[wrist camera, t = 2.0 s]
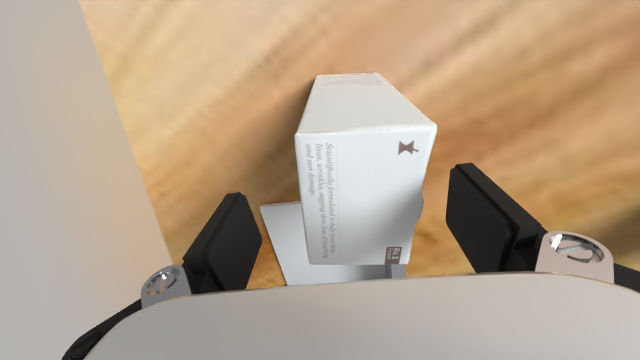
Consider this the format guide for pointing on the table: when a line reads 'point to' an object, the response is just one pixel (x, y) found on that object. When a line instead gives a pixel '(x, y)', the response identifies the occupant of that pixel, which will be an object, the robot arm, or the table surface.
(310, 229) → the skincare box
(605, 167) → the table surface
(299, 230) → the corner jig
